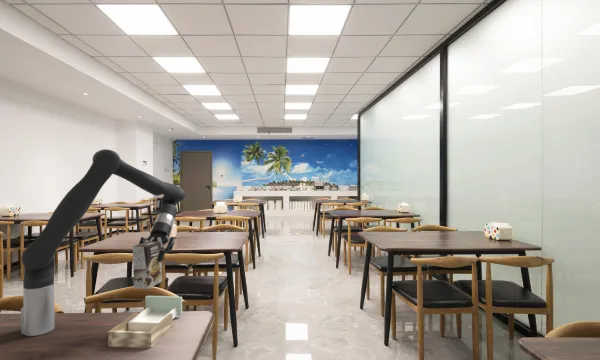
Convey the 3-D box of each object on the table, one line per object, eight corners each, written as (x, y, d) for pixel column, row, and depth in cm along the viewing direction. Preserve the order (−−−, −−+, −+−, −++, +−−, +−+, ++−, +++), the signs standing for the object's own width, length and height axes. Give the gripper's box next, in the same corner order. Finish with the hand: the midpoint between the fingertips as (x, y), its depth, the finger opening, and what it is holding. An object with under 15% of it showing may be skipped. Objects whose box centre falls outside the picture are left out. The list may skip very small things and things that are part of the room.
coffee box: (148, 289, 128) (146, 246, 128) (133, 288, 130) (131, 246, 129) (162, 281, 137) (161, 241, 137) (148, 280, 139) (147, 240, 138)
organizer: (108, 346, 118) (108, 331, 118) (134, 325, 134) (134, 312, 134) (151, 348, 117) (151, 333, 117) (172, 326, 133) (172, 313, 133)
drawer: (124, 330, 127) (124, 311, 127) (146, 312, 143) (146, 295, 143) (164, 331, 126) (164, 312, 126) (182, 314, 142) (182, 296, 142)
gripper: (143, 221, 144) (128, 256, 132) (176, 220, 143) (164, 256, 131) (149, 231, 149) (136, 265, 138) (182, 231, 148) (171, 265, 137)
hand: (150, 261), depth 135 cm, fingers closed on coffee box, 6 cm apart
